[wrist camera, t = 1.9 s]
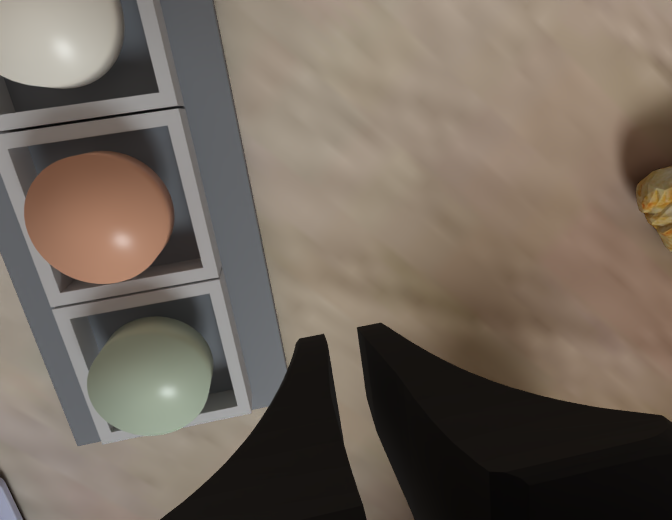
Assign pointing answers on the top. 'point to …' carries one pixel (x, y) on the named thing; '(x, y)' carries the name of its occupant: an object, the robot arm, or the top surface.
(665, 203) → the croissant
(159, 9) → the panel
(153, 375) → the sage button
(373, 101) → the top surface
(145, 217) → the terracotta button
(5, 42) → the ivory button
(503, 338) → the top surface
